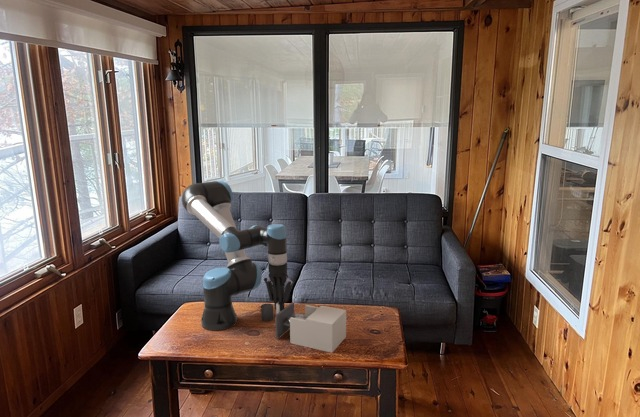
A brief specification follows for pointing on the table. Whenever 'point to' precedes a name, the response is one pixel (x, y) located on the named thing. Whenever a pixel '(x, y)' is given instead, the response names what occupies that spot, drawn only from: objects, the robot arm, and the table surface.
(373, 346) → the table surface
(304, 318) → the disc
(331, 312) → the housing
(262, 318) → the stand
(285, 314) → the grey plate and rod
